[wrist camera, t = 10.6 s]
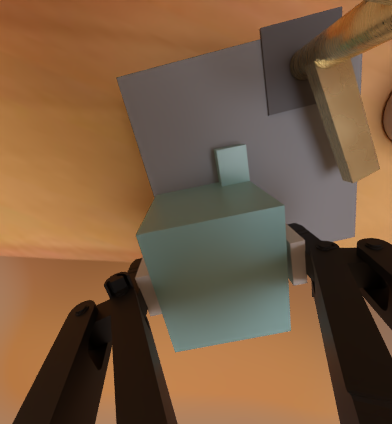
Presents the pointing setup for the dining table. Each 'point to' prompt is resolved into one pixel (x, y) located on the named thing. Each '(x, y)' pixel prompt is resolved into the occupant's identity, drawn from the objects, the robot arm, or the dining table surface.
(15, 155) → the dining table surface
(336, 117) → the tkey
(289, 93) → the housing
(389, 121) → the cup
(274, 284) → the cover
